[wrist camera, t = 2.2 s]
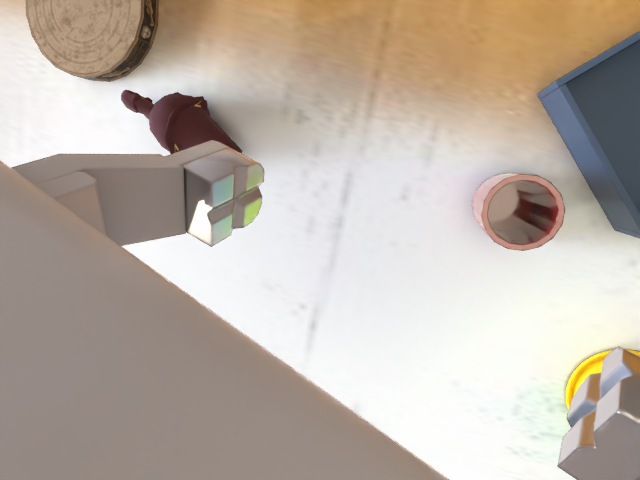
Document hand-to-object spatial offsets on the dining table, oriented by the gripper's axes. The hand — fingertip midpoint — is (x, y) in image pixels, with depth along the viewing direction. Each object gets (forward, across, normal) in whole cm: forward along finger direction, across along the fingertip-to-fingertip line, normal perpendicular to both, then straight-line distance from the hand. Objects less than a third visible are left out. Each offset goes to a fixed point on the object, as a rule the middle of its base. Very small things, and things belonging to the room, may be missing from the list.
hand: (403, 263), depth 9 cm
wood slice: (+26, +51, +8) cm, 58 cm away
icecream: (+26, +34, +17) cm, 46 cm away
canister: (+35, 0, +14) cm, 38 cm away
